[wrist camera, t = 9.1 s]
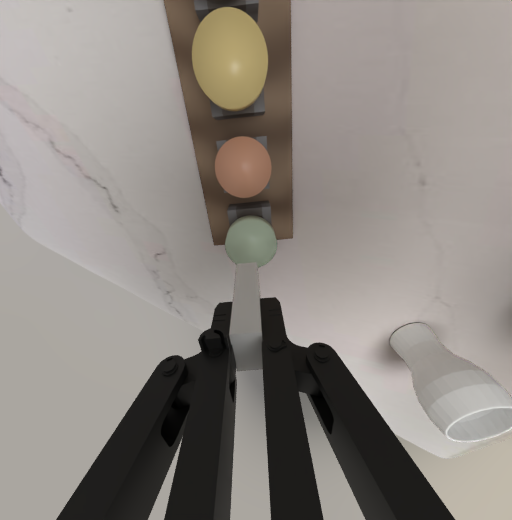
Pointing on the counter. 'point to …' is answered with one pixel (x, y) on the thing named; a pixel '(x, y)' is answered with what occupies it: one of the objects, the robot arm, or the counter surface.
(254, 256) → the sage button
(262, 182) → the terracotta button
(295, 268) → the counter surface
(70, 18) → the counter surface
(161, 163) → the counter surface
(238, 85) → the ochre button
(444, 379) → the cup
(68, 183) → the counter surface
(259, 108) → the panel
